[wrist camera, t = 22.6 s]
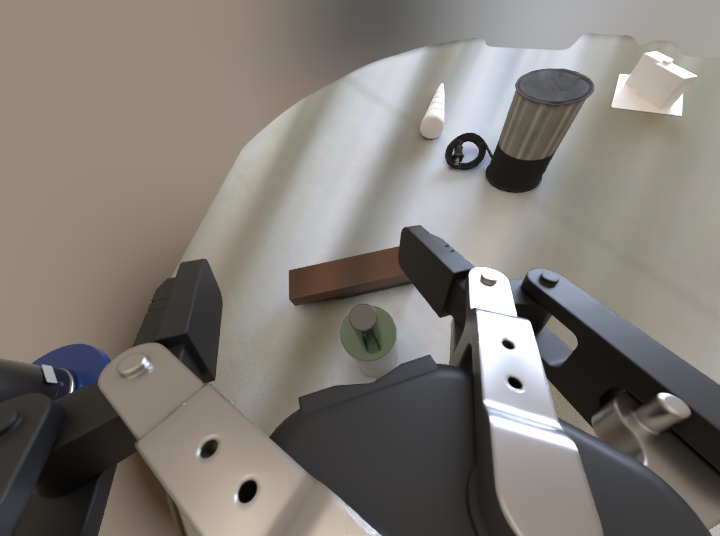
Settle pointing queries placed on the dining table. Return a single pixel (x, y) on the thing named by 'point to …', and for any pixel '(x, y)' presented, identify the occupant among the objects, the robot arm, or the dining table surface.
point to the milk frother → (529, 129)
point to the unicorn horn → (434, 116)
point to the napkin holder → (653, 86)
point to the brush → (346, 277)
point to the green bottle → (370, 340)
